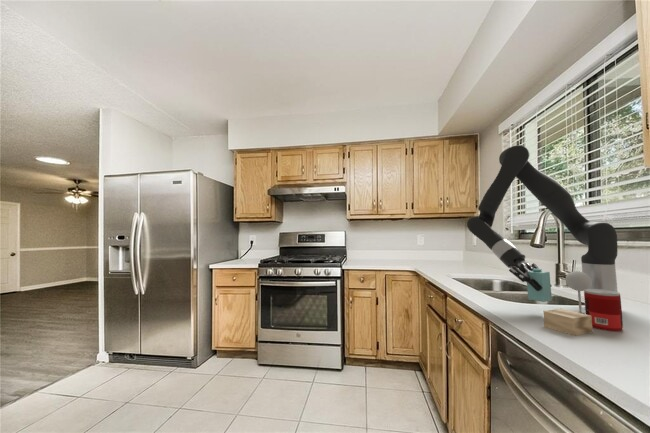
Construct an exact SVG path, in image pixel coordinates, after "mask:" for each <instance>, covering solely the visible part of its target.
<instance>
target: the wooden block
mask: <svg viewBox="0 0 650 433" xmlns="http://www.w3.org/2000/svg"><path fill="white" fill-rule="evenodd" d="M543 326H544V327H545V328H549V329H552V330H555V331H559V332H561V333H565V334H569V335H570V336H579V335H585V334H590V333H593V327H592V317H591V315H586V313H583V312H582V313H580V312H577V311H572V310H569V309H565V308H556V309H550V310H543Z"/></svg>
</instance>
